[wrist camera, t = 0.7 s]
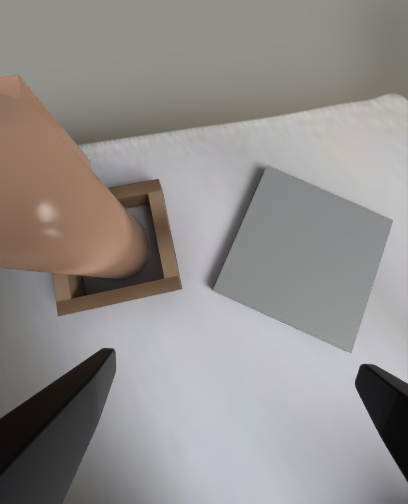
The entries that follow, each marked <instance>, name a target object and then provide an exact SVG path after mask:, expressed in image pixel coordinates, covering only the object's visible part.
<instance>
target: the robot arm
mask: <svg viewBox="0 0 408 504" xmlns="http://www.w3.org/2000/svg"><path fill="white" fill-rule="evenodd" d="M115 372H116V352H115V349H113V348H103V349H101V350H99V351H98V352H96V353H95V354H94V355H92V356H91V357H89V358H88V359H86V360H85V361H83V362H82V363H80V364H79V365H78V366H76V367H75V368H73V369H72V370H70V371H69V372H67V373H66V374H64V375H63V376H62V377H60V378H59V379H57V380H56V381H54V382H53V383H51V384H50V385H48V386H47V387H46V388H44V389H43V390H41V391H40V392H38V393H37V394H35V395H34V396H32V397H31V398H30V399H28V400H27V401H25V402H24V403H22V404H21V405H19V406H18V407H16V408H15V409H14V410H12V411H11V412H9V413H8V414H6V415H5V416H3V417H2V418H1V419H0V504H62V503H63V501H64V498H65V496H66V494H67V492H68V490H69V487H70V485H71V483H72V481H73V478H74V476H75V474H76V472H77V470H78V467H79V465H80V463H81V461H82V458H83V456H84V454H85V452H86V449H87V447H88V445H89V443H90V441H91V438H92V436H93V434H94V432H95V429H96V427H97V425H98V422H99V419H100V417H101V414H102V411H103V408H104V405H105V402H106V399H107V396H108V393H109V390H110V387H111V384H112V382H113V379H114V376H115ZM355 386H356V389H357V391H358V393H359V395H360V397H361V399H362V401H363V403H364V405H365V407H366V409H367V411H368V413H369V415H370V417H371V419H372V421H373V423H374V425H375V427H376V429H377V431H378V433H379V435H380V437H381V438H382V440H383V442H384V444H385V445H386V447H387V449H388V450H389V452H390V454H391V455H392V457H393V459H394V460H395V462H396V464H397V465H398V467H399V469H400V470H401V472H402V474H403V475H404V477H405V479H406V480H407V482H408V383H406V382H404V381H402V380H400V379H399V378H397V377H395V376H393V375H392V374H390V373H388V372H386V371H385V370H383V369H381V368H379V367H378V366H376V365H373V364H362V365H361V366H360V368H359V371H358V374H357V377H356V380H355Z"/></svg>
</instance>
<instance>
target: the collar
mask: <svg viewBox="0 0 408 504" xmlns="http://www.w3.org/2000/svg"><path fill="white" fill-rule="evenodd" d="M108 190H109V191H110V192H111V193H112V194H113V195H114V196H115V197H116V198H117V200H118V201H119V202H120V203H121V204H122V205H123V206H124V207H125V209H126V208H131V207H136V206H142V205H147V204H150V206H151V211H152V217H153V222H154V227H155V232H156V238H157V243H158V248H159V253H160V258H161V264H162V269H163V274H164V279H160V280H156V281H151V282H146V283H142V284H137V285H133V286H128V287H123V288H119V289H114V290H109V291H105V292H100V293H96V294H91V295H86V296H85V292H84V285H83V277H82V275H71V274H60V273H53V279H54V287H55V296H56V304H57V312H58V316H62V315H66V314H71V313H75V312H80V311H85V310H89V309H94V308H98V307H103V306H107V305H112V304H116V303H121V302H125V301H130V300H134V299H139V298H143V297H148V296H152V295H157V294H161V293H166V292H170V291H175V290H180V289H182V285H181V280H180V275H179V270H178V265H177V260H176V255H175V250H174V245H173V241H172V236H171V231H170V226H169V221H168V216H167V211H166V206H165V201H164V196H163V191H162V188H161V185H160V182H159V179H156V180H150V181H145V182H139V183H134V184H128V185H123V186H117V187H112V188H108Z"/></svg>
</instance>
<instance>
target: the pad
mask: <svg viewBox="0 0 408 504" xmlns="http://www.w3.org/2000/svg"><path fill="white" fill-rule="evenodd" d="M392 222H393V220H391V219H389V218H387V217H384V216H382V215H380V214H378V213H375V212H373V211H371V210H368V209H366V208H364V207H362V206H359V205H357V204H355V203H352V202H350V201H348V200H345V199H343V198H341V197H339V196H336V195H334V194H332V193H329V192H327V191H325V190H323V189H320V188H318V187H316V186H313V185H311V184H309V183H306V182H304V181H302V180H300V179H297V178H295V177H293V176H290V175H288V174H286V173H283V172H281V171H279V170H277V169H274V168H272V167H270V166H267V167H266V168H265V170H264V172H263V174H262V177H261V179H260V181H259V184H258V186H257V188H256V191H255V193H254V195H253V197H252V200H251V202H250V204H249V207H248V209H247V211H246V213H245V216H244V218H243V220H242V223H241V225H240V227H239V230H238V232H237V234H236V236H235V239H234V241H233V243H232V246H231V248H230V250H229V253H228V255H227V257H226V259H225V262H224V264H223V266H222V269H221V271H220V273H219V276H218V278H217V280H216V282H215V285H214V287H213V289H212V290H213V291H215V292H217V293H220V294H222V295H224V296H226V297H228V298H231V299H233V300H235V301H237V302H239V303H242V304H244V305H246V306H248V307H250V308H253V309H255V310H257V311H259V312H261V313H264V314H266V315H268V316H270V317H272V318H275V319H277V320H279V321H281V322H283V323H286V324H288V325H290V326H292V327H294V328H297V329H299V330H301V331H303V332H305V333H308V334H310V335H312V336H314V337H316V338H319V339H321V340H323V341H325V342H327V343H330V344H332V345H334V346H336V347H338V348H341V349H343V350H345V351H347V352H350V353H352V349H353V346H354V343H355V340H356V337H357V333H358V330H359V327H360V324H361V321H362V318H363V314H364V311H365V308H366V305H367V302H368V298H369V295H370V292H371V289H372V286H373V283H374V279H375V276H376V273H377V270H378V267H379V263H380V260H381V257H382V254H383V251H384V248H385V244H386V241H387V238H388V235H389V232H390V229H391V225H392Z"/></svg>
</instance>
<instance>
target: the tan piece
mask: <svg viewBox="0 0 408 504" xmlns="http://www.w3.org/2000/svg"><path fill="white" fill-rule="evenodd" d="M150 252H151V243H150V239H149V236H148V234H147V233H146V231H145V230H144V229H143V228H142V226H141V225H140V224H139V223H138V222H137V221H136V220H135V219H134V217H133V216H132V215H131V214H130V213H129V212H128V211H127V210H126V209H125V207H124V206H123V205H122V204H121V203H120V202H119V201H118V200H117V198H116V197H115V196H114V195H113V194H112V193H111V192H110V191H109V190H108V188H107V187H106V186H105V185H104V184H103V183H102V182H101V181H100V179H99V178H98V177H97V176H96V175H95V174H94V173H93V172H92V169H91V162H90V160H89V159H88V158H87V156H86V155H85V154H84V153H83V152H82V150H81V149H80V148H79V147H78V146H77V144H76V143H75V142H74V141H73V140H72V139H71V137H70V136H69V135H68V134H67V132H66V131H65V130H64V129H63V128H62V126H61V125H60V124H59V123H58V122H57V121H56V120H55V118H54V117H53V116H52V115H51V113H50V112H49V111H48V110H47V109H46V107H45V106H44V105H43V104H42V103H41V101H40V100H39V99H38V98H37V97H36V96H35V94H34V93H33V92H32V91H31V89H30V88H29V87H28V86H27V85H26V83H25V82H24V81H23V80H22V79H21V77H20V76H19V75H15V76H7V77H0V268H6V269H17V270H28V271H38V272H49V273H60V274H71V275H82V276H92V277H103V278H114V279H123V278H128V277H131V276H133V275H135V274H137V273H138V272H139V271H140V270H141V269H143V267H144V266H145V265H146V263H147V262H148V259H149V257H150Z"/></svg>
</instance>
